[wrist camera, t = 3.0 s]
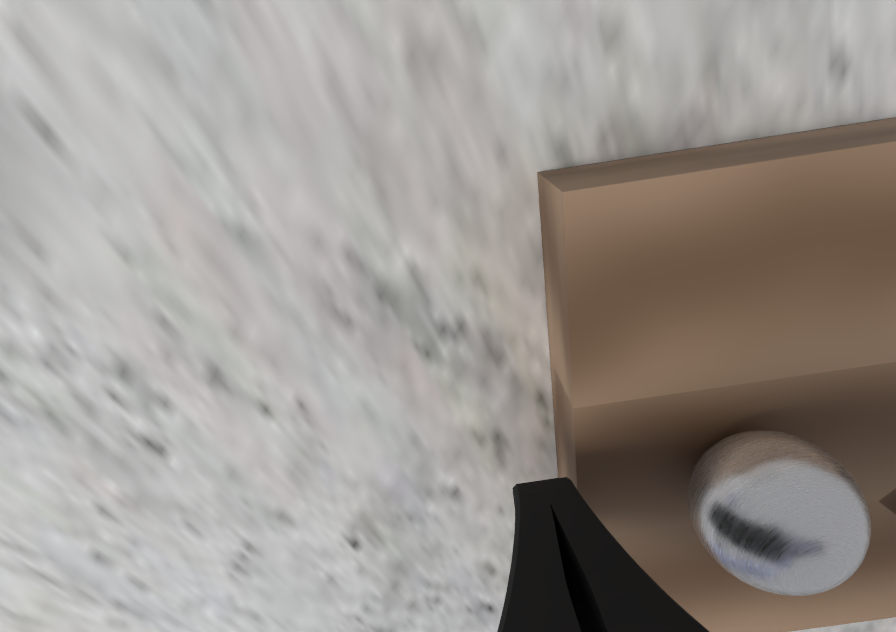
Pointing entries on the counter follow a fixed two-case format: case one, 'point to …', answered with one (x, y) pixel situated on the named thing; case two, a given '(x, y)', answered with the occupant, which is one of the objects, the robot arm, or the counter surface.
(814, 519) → the steel ball
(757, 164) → the walnut plate
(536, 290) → the counter surface
